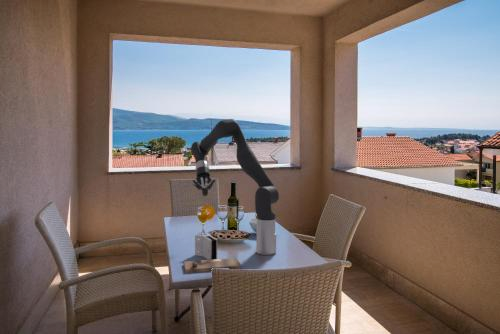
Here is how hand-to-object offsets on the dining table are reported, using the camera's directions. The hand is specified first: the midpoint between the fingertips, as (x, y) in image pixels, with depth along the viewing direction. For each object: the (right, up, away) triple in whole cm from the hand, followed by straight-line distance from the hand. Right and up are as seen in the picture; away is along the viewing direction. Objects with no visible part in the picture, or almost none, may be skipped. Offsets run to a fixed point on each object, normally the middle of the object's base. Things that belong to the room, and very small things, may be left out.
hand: (205, 195), depth 202 cm
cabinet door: (+7, -29, -36) cm, 47 cm away
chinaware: (+31, -25, +22) cm, 45 cm away
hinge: (+3, -28, -23) cm, 37 cm away
